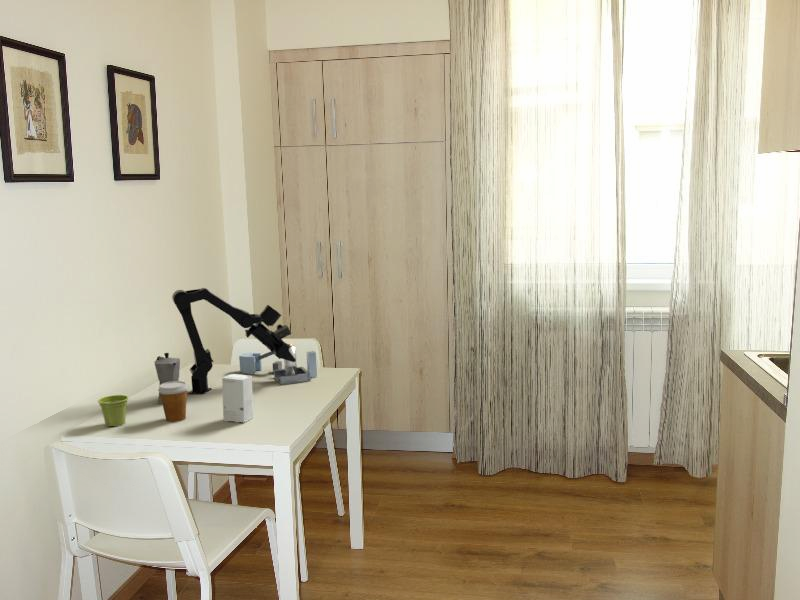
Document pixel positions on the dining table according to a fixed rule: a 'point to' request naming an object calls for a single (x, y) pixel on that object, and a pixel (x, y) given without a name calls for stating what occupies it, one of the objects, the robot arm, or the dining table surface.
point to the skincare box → (237, 398)
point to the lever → (264, 356)
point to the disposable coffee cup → (174, 400)
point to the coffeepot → (167, 370)
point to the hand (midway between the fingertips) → (293, 359)
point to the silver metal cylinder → (289, 365)
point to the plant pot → (114, 409)
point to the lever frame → (254, 363)
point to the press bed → (299, 372)
